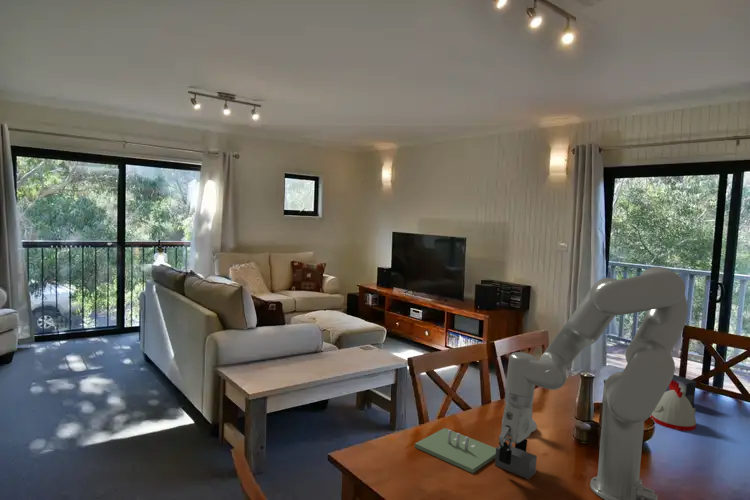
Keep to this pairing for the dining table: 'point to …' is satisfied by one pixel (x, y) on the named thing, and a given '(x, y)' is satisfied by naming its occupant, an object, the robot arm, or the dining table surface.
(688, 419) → the kitchen timer
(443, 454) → the board
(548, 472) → the dining table surface
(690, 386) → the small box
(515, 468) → the plug housing
